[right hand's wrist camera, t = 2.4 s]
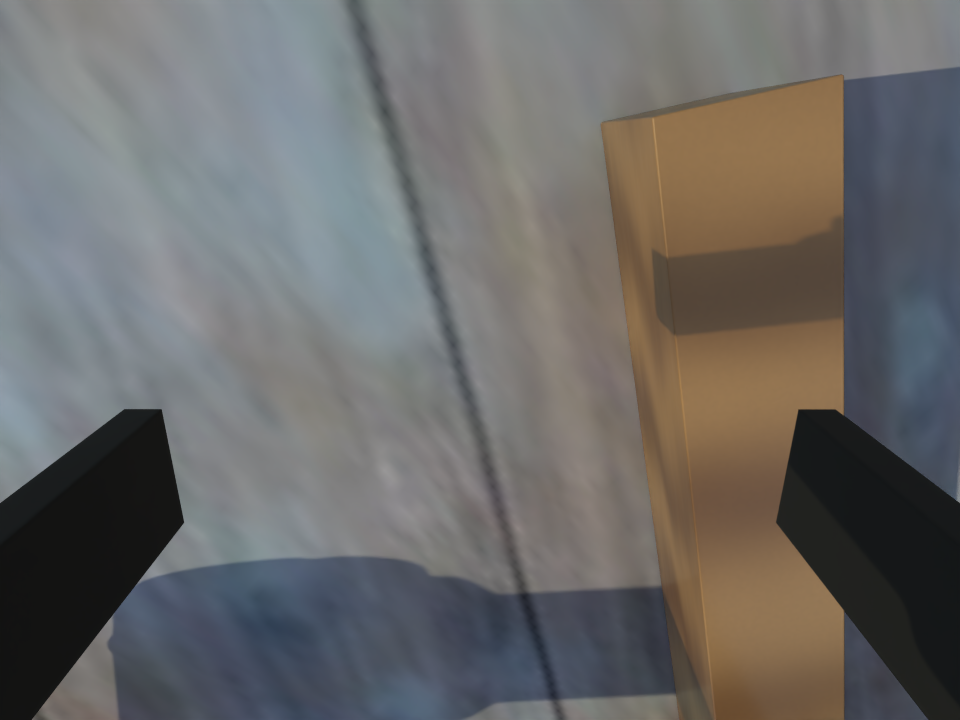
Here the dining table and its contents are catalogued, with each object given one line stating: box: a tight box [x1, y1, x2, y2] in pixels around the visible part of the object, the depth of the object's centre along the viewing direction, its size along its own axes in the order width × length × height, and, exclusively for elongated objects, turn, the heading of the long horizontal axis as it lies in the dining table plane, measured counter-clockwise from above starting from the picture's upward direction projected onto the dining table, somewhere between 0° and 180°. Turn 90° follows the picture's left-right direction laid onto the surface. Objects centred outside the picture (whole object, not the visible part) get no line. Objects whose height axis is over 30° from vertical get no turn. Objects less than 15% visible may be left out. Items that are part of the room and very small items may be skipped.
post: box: [601, 75, 844, 720], centre depth 31 cm, size 50×6×8 cm, turn 12°
